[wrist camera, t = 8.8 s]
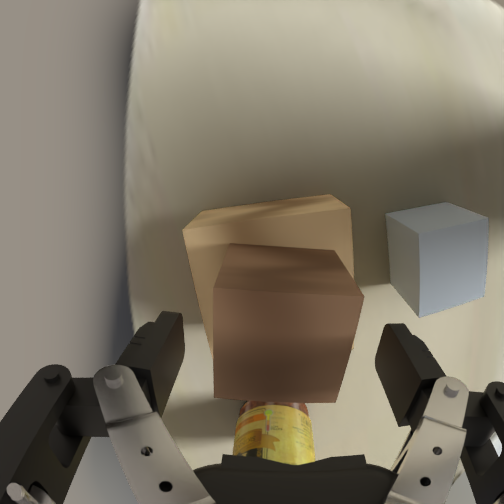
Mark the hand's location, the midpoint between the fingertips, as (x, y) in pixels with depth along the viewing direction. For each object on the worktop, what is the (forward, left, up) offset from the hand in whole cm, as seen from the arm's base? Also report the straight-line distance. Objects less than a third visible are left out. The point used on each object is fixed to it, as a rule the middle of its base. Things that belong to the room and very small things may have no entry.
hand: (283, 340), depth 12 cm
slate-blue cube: (-10, -2, -9) cm, 13 cm away
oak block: (0, 0, -9) cm, 9 cm away
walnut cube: (0, 0, -4) cm, 4 cm away
